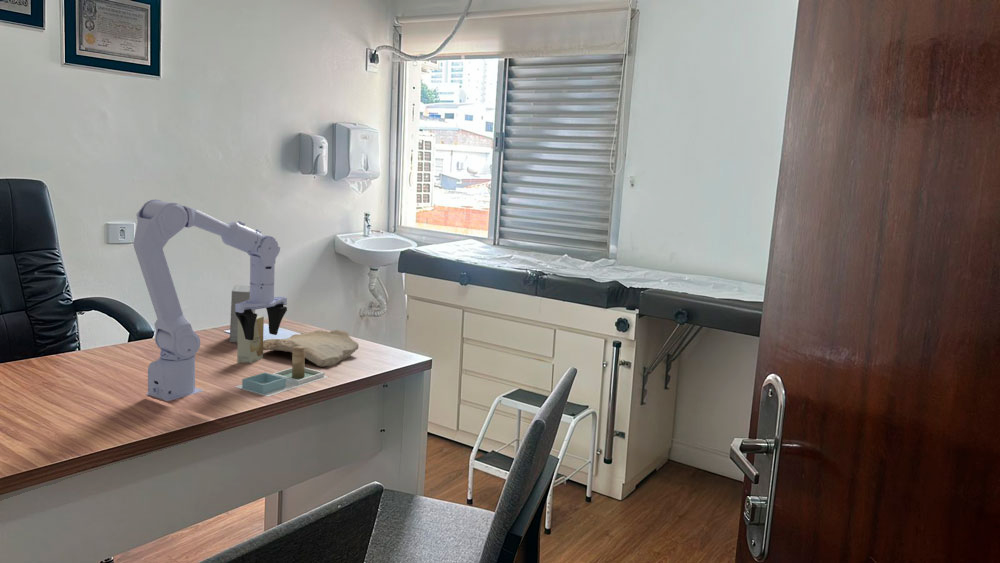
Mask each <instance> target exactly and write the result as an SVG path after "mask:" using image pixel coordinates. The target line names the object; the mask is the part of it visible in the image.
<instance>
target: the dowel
mask: <svg viewBox="0 0 1000 563" xmlns="http://www.w3.org/2000/svg"><path fill="white" fill-rule="evenodd" d="M291 356H292V357H291V358H292V359H291V362H292V364H291V368H292V377H293V378H303V377H305V368H306V367H305V366H306V364H305V362H306V358H305V347H303V346H295V347H292V352H291Z"/></svg>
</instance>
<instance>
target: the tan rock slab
mask: <svg viewBox="0 0 1000 563" xmlns="http://www.w3.org/2000/svg"><path fill="white" fill-rule="evenodd" d="M349 334H350V333H349V332H348V331H345V330H340V329H339V330H338V329H334V330H331V331H326V330H322V329H320V330H314V331H311V332H309V331H308V332H305V333H304V332H301V333H300V334H299V333H298V334H292V335H291V336H290V337H287V338H272V339H271V338H267V339H265V340H263V351H281V352H286V353H287V352H288V353H292V347H295V346H303V347H305V360H308V361H310V362H312V363H313V364H315V365H316V366H318V367H322V368H323V367H331V366H332V367H333V366H335V365H337V364H338V363H339V362H341V361H342V360H346V359H348V358H350V357H351V355H352V354H354V353H355V352H356V351H357V350H358V349H359V346H360V345H359V343H358V342H357V341H356V340H353V339H352V337H351V336H350V335H349Z"/></svg>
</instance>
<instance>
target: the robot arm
mask: <svg viewBox="0 0 1000 563" xmlns="http://www.w3.org/2000/svg"><path fill="white" fill-rule="evenodd" d="M136 220H137V223H136V229H135V233H134V238H133V242H132V244H133V249H134V251H135V255H136V258H137V261H138V264H139V266H140V270H141V273H142V276H143V279H144V283H145V286H146V288H147V291H148V294H149V298H150V301H151V304H152V306H153V309H154V312H155V316H156V318H157V319H156V321H155V322H154V329H155V334H154V342H155V344H156V346H157V348H158V349H160V353H159V357H158V358H157V359H156V360H154V361H152V362H150V363H149V365H148V366H147V367H148V368H147V392H146V393H145V394H146V395H147V396H150V397H151V396H152V397H153V398H156V399H159V400H162V401H165V402H170V401H173V400H177V399H180V398H185V397H187V396H191V395H194V394H197V393H201V392H204V391H205V390H204V389H200V388H197V387H196V354H197V352H198V351H199V349H200V347H201V339H200V336H199V334H198V333H196V332H195V331H194V330H193V327H192V325H191V322H190V321H189V320H188V319H187V318H186V316H185V315H184V314H183V310H182V306H181V304H180V300H179V298H178V295H177V294H178V293H177V291H176V287H175V284H174V282H173V278H172V275H171V271H170V268H169V265H168V262H167V259H166V256H165V255H166V254H165V252H164V247H165V246H166V245H167V243H168V242H169V240H170V239H172V238H173V237H174V236H176V235H177V234H179V232H180V231H182V230H183V229H184V228H192V227H196V228H198V229H201V230H204V231H205V232H206V231H207V232H209V233H212V234H214V235H217V236H219V237H220V238H221V240H222V243H223V244H224V245H227V246H230V247H231V248H235V249H237V250H239V251H242V252H244V253H246V254H247V255H248V256H249V261H250V262H249V286H250V300H248V301H245V302H242V303H238V304H235V312H236V316H237V317H238V319H239V321H240V323H241V325H242V328H243V331H244V335H245V339H247V340H253V338H254V326H255V321H256V318H257V316H258V313H256V312H255V313H253V312H252V310H255V311H257V310H260V309H261V310H262V309H266V312H267V318H268V333H269V335H274V336H277V335H278V331H279V328H280V326H281V322H282V321H283V318H284V316H285V315H286V313H287V311H288V307H287V304H288V302H287V301H288V298H287V297H286V296H285V297H284V296H277V297H276V296H275V273H276V272H275V267H276V266H275V265H276V260H277V257H278V256H279V254H280V251H281V247H280V246H279V243H278V240H276V238H275V237H273V236H271V235H266V234H262V230H260V229H254V228H253V229H252V228H251V227H248V226H245V225H246V223H245V222H243V221H240V220H238V221H237V222H236V221H231V222H228V223H225V222H224V221H221V220H219V219H217V218H214V217H213V216H212V215H208V214H207V213H204V212H203V211H201V210H198V209H197V208H193V207H190V206H186V205H182V204H180V203H177V202H168V201H163V200H160V199H149V200H148V201H146V202H145V203H144V204H143V205H142V206H141V207H140V209H139V210H138V211H137V213H136Z"/></svg>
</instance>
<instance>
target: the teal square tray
mask: <svg viewBox="0 0 1000 563" xmlns="http://www.w3.org/2000/svg"><path fill="white" fill-rule="evenodd" d="M241 380H242V381H241V382H242V383H241V385H242V388H244V389H247V390H251V391H254V392H257V393H261V394H266V393H269V392H272V391H275V390H278V389H281V388H284V387H286V378H284V377H280V376H277V375H273V374H272V373H269V372H261V373H259V374H255V375H250V376H248V377H245V378H242V379H241ZM263 382H267V383H266V384H261V383H263ZM257 393H256V394H257Z"/></svg>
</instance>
